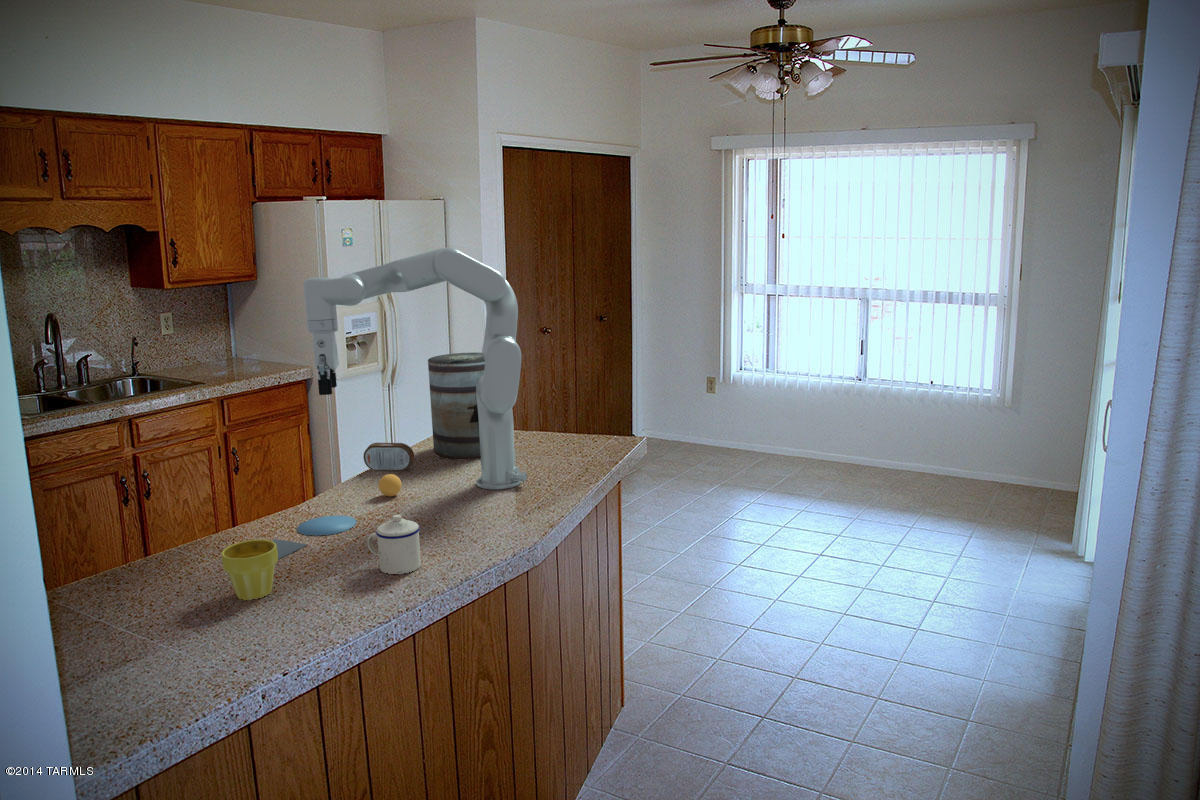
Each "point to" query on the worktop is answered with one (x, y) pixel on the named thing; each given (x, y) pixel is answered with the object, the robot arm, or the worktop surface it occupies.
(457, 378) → the barrel
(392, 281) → the robot arm
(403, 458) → the tin
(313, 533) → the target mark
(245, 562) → the plant pot
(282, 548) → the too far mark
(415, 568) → the teacup with lid
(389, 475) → the ball
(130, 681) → the worktop surface
